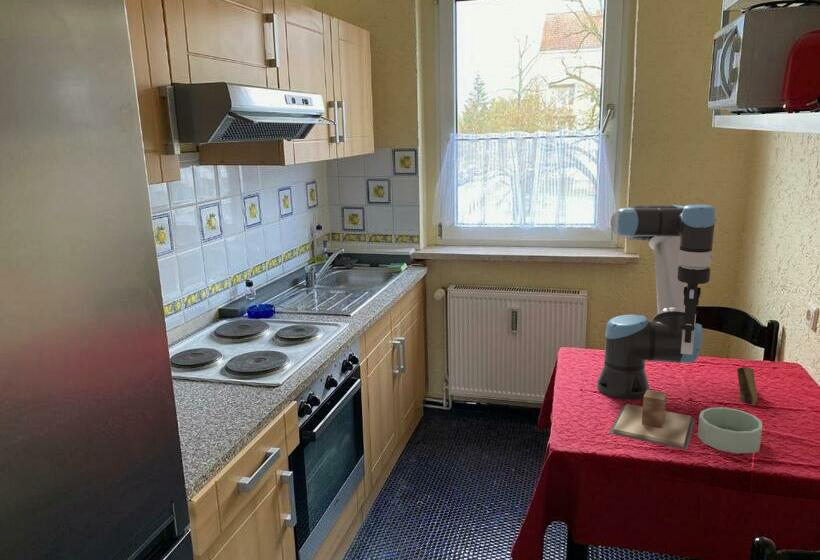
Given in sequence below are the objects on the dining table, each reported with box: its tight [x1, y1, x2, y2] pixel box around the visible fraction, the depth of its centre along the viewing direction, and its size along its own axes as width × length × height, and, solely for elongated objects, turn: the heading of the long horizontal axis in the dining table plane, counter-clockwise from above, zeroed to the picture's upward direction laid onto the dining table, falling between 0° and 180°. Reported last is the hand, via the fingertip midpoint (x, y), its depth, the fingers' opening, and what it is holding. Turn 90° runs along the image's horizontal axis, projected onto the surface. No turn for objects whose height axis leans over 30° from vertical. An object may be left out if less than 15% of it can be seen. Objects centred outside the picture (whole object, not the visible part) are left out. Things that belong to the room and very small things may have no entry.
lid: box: [613, 389, 692, 447], centre depth 164 cm, size 17×17×9 cm
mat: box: [608, 404, 696, 451], centre depth 165 cm, size 19×19×1 cm
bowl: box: [697, 406, 763, 455], centre depth 156 cm, size 14×14×6 cm
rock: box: [736, 366, 759, 406], centre depth 181 cm, size 11×9×10 cm
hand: (687, 345), depth 161 cm, fingers open, 13 cm apart
